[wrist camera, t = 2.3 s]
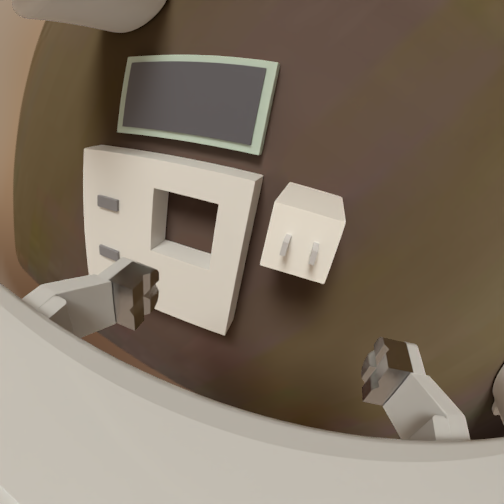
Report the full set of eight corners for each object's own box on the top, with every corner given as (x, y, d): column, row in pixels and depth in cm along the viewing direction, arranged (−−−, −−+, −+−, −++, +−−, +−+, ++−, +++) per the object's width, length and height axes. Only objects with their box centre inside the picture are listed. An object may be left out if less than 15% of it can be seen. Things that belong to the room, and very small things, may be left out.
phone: (281, 66, 18) (277, 62, 16) (263, 153, 21) (258, 155, 19) (137, 58, 20) (126, 56, 18) (126, 131, 23) (115, 132, 21)
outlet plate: (263, 175, 21) (254, 181, 18) (233, 319, 27) (223, 337, 25) (102, 144, 23) (81, 148, 21) (103, 269, 30) (87, 280, 27)
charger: (342, 197, 20) (346, 230, 14) (327, 245, 22) (323, 295, 16) (289, 181, 21) (269, 207, 14) (277, 230, 23) (254, 274, 16)
